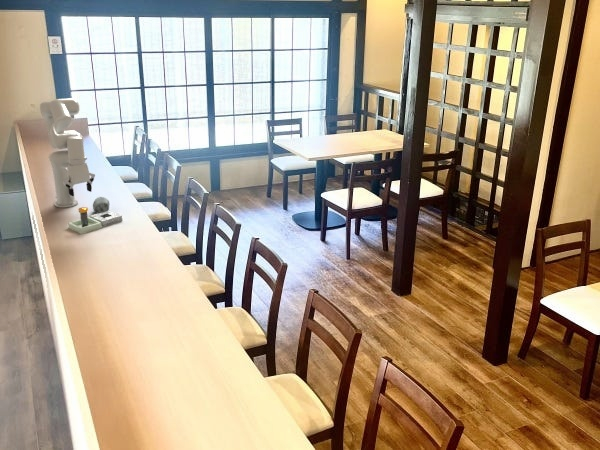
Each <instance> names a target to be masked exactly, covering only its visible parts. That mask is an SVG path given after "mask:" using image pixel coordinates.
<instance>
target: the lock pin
mask: <svg viewBox="0 0 600 450" xmlns="http://www.w3.org/2000/svg"><path fill="white" fill-rule="evenodd" d="M88 212H89V208H88V207H87V206H84V207H79V208H78V213H79V215H80V219H81V224H82V227H85V226H89V225H88V217H89V216H88Z"/></svg>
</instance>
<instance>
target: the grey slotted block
mask: <svg viewBox="0 0 600 450" xmlns="http://www.w3.org/2000/svg"><path fill="white" fill-rule="evenodd" d="M89 217H90V218H92V219H94V220H96V221H99V222H101V224H102V228H103V227H106V226H110V225H112V224H116V223H119V222H122V221H123V215H121V214H119V213H116V212H114V211H112V210H110V209H109V210H108V211H105V212H102V213H95V214H91V215H89Z"/></svg>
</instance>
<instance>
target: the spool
mask: <svg viewBox="0 0 600 450" xmlns="http://www.w3.org/2000/svg"><path fill="white" fill-rule="evenodd" d="M92 210H93V212H95V214H98V213H102V212H105V211H109V210H110V200H109V199H108V198H107V197H105V196H98V197H96V198H95V199H94V201H93V204H92Z"/></svg>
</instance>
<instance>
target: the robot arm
mask: <svg viewBox="0 0 600 450" xmlns="http://www.w3.org/2000/svg"><path fill="white" fill-rule="evenodd" d="M39 110H40V111H39V112H40V114H41V116H42V118H43V120H44V122H45V124H46V129H47V134H48V139H49V140H48V141H49V145H50V146H51V148H53V149H54V150H56V149H57V151H53V152H51V153H50V154H49V157H48V158H49V162H50V163H49V164H50V166H51V168H52V174H53V175H52V176H53V182H54V188H55V195H56V196H55V198H56V201H55V202H54V206H55V207H57V208H63V209H64V208H65V209H66V208H71V207H75V206H77V205H78V204H79V201H78V200H77V199H75V190H74V186H75V185H79V184H82V183H86V190H87V192H90V193H91V192H92V185H93V182H94V180H95V177H96V174H95V173H92V172H90V170H89V167H88V162H86V161H87V160H88V157H87V156H86V155H85V148H84V137H83V135H82V133H80V132H78V131H76V130H66V129H68V128H70V127H71V126H72V124H73V118H72V116H75V115H78V114H79V113H80V105H79V102H78V101H77V99H75V98H73V97H72V98H71V97H70V98H69V97H68V98H56V99H53V100H46V101H42V102H41V103H40V104H39ZM63 149H64V150H63ZM66 149H67V150H66Z"/></svg>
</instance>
